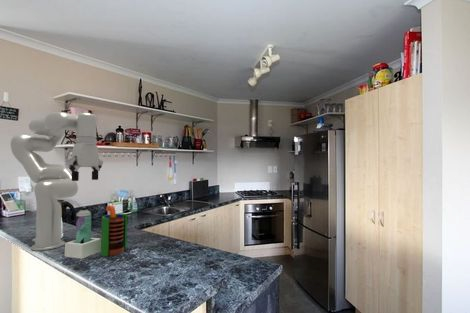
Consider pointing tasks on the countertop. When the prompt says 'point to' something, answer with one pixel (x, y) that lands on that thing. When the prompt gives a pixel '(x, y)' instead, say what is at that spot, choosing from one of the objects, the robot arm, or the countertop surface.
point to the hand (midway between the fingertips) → (85, 180)
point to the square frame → (82, 248)
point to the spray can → (83, 226)
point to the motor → (113, 233)
